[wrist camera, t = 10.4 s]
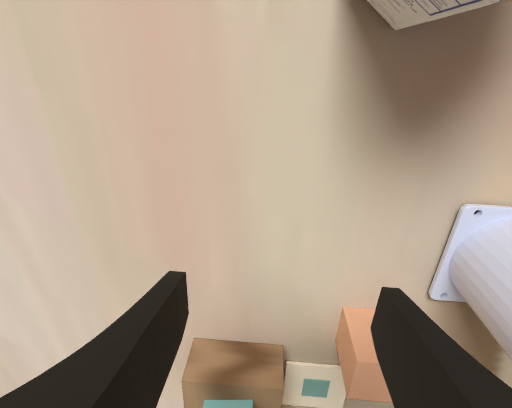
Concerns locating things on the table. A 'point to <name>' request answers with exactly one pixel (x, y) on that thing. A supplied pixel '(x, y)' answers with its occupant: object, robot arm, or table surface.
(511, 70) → the table surface
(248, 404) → the teal block
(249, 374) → the walnut block
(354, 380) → the terracotta block
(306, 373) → the card
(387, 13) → the medicine box
